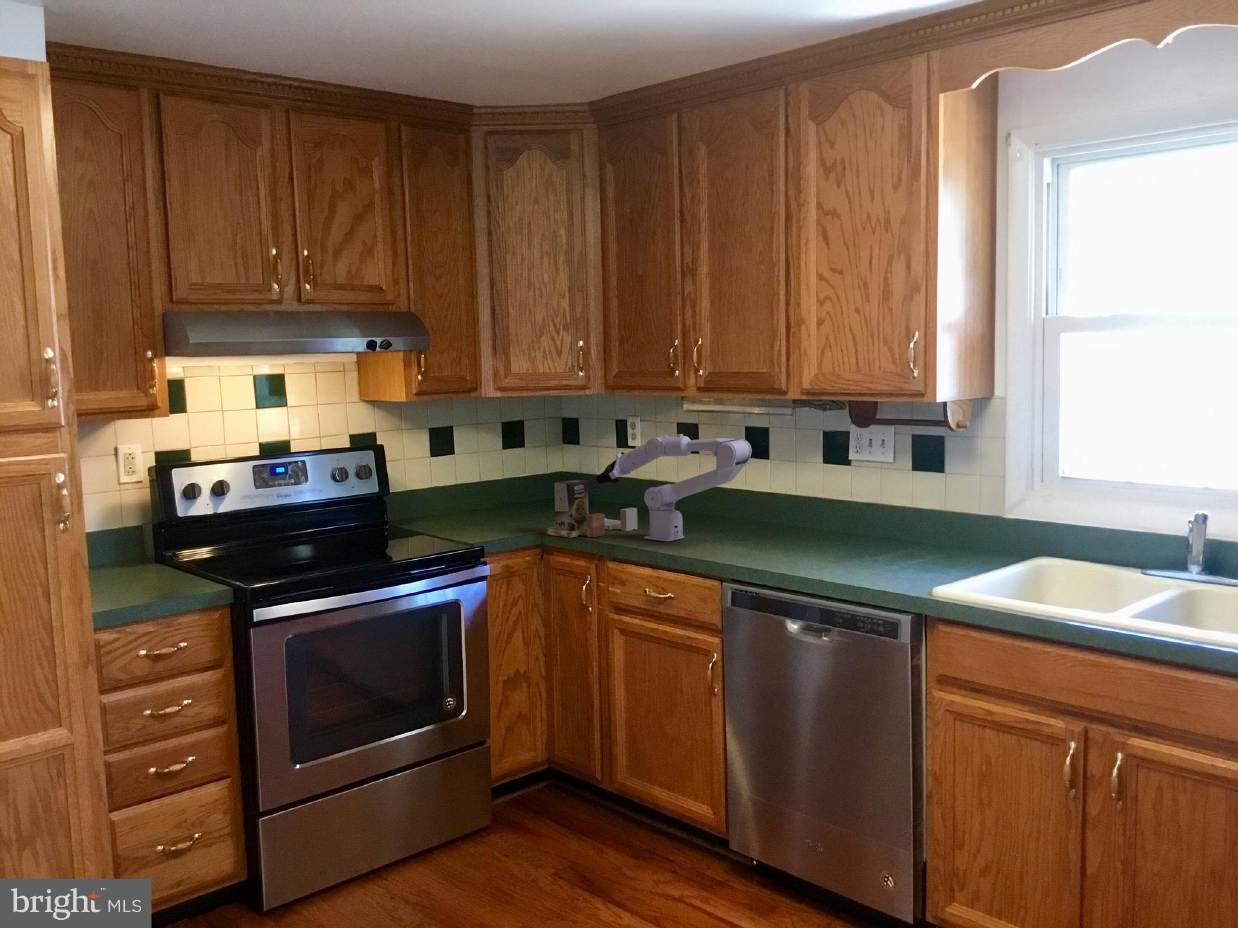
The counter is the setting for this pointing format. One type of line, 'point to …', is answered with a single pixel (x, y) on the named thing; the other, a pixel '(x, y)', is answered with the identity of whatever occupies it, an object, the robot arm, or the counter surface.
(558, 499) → the coffee box
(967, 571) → the counter surface
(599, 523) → the carton sled
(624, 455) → the robot arm
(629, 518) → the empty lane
